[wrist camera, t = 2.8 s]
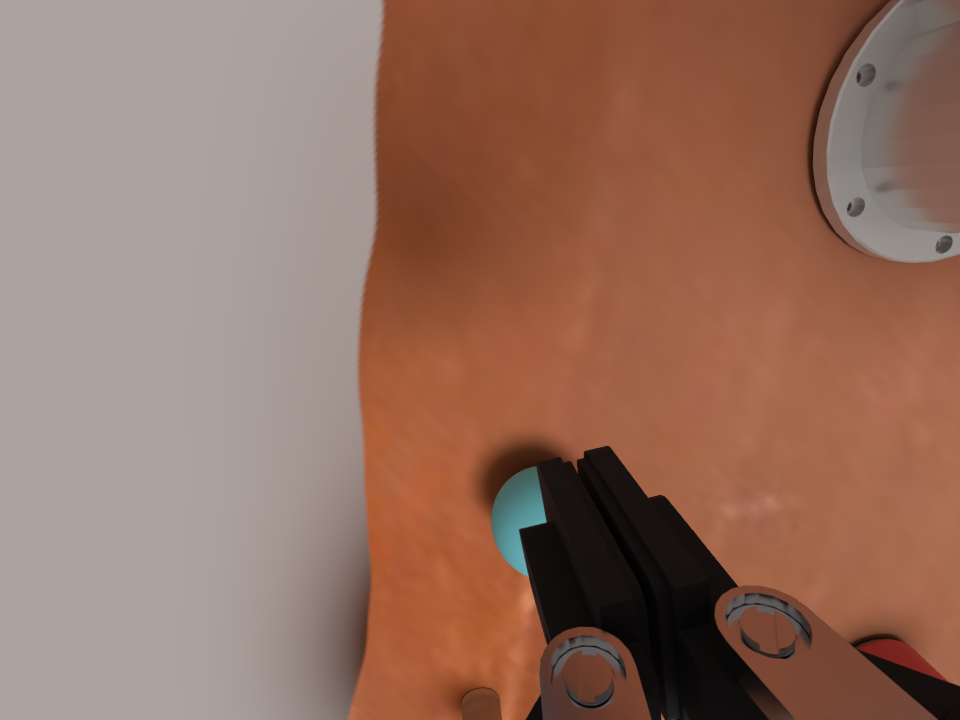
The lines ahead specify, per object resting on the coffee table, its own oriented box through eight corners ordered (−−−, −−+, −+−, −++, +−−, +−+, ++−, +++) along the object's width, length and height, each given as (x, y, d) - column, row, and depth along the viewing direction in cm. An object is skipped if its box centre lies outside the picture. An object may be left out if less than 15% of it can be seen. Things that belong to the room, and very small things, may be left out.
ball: (477, 458, 26) (488, 525, 21) (575, 436, 26) (611, 497, 21) (495, 538, 28) (510, 618, 22) (587, 517, 28) (623, 591, 23)
